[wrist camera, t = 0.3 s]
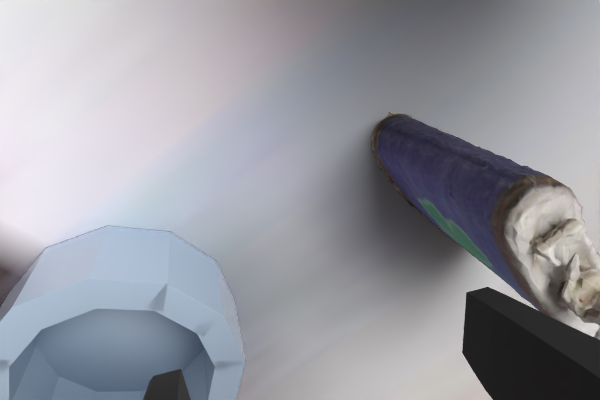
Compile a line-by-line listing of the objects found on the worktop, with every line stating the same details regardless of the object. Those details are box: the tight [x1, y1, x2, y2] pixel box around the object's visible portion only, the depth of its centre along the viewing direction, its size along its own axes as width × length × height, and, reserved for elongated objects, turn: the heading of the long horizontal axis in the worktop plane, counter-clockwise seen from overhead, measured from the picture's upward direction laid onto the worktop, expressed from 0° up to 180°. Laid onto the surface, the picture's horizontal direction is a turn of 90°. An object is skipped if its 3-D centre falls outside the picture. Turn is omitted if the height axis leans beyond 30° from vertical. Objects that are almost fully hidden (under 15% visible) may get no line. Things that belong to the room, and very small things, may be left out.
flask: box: [371, 112, 600, 340], centre depth 16 cm, size 9×3×11 cm, turn 45°
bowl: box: [0, 226, 246, 400], centre depth 18 cm, size 10×10×4 cm
